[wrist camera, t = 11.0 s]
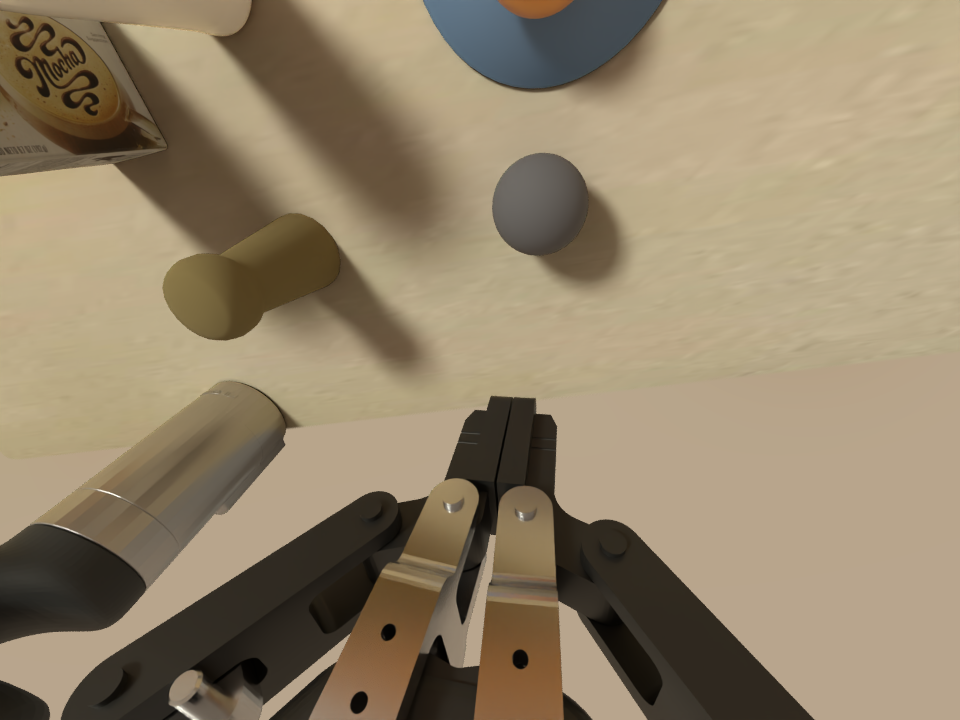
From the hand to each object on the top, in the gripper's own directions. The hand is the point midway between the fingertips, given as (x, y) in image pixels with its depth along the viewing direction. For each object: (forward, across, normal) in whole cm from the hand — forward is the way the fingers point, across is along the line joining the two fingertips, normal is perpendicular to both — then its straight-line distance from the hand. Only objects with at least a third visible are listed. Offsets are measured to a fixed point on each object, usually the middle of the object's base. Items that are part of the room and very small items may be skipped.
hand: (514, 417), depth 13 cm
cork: (+17, +19, -1) cm, 26 cm away
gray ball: (+14, 0, -4) cm, 15 cm away
